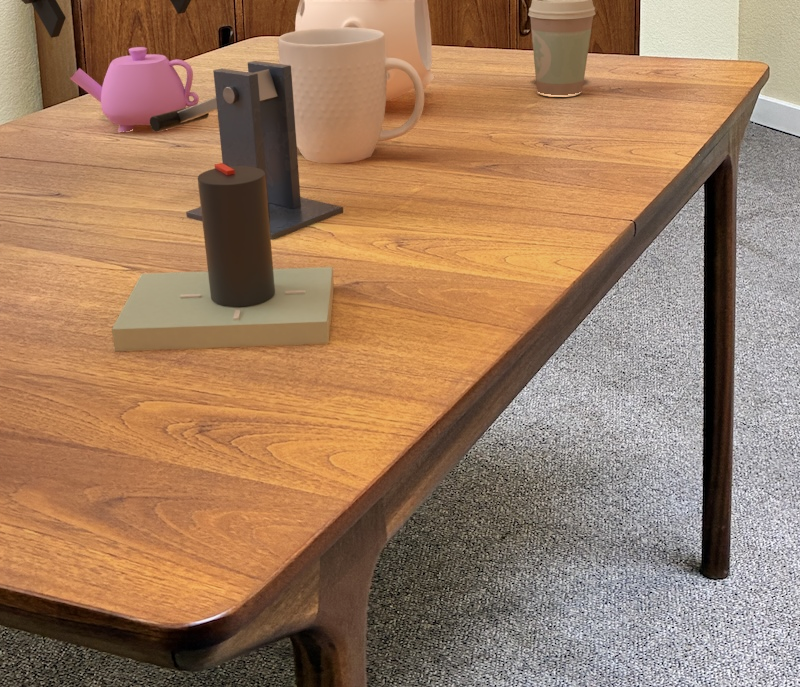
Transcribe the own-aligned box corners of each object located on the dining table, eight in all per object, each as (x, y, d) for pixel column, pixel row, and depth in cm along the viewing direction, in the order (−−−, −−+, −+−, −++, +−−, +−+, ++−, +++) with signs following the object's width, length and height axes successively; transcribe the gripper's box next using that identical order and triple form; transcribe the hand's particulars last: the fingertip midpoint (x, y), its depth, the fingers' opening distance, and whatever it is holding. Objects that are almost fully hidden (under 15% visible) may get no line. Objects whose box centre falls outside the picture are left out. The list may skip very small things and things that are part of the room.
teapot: (196, 133, 131) (187, 53, 127) (68, 138, 131) (56, 58, 127) (206, 113, 140) (198, 38, 137) (87, 118, 140) (76, 43, 136)
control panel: (117, 370, 73) (110, 326, 72) (146, 311, 82) (141, 271, 81) (329, 362, 73) (326, 318, 72) (335, 304, 82) (332, 264, 81)
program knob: (285, 297, 76) (275, 172, 72) (226, 312, 73) (212, 184, 70) (258, 278, 79) (248, 157, 75) (201, 291, 77) (187, 168, 73)
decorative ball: (320, 90, 151) (310, -62, 143) (444, 90, 149) (442, -65, 140) (283, 125, 133) (270, -46, 125) (424, 126, 131) (420, -49, 123)
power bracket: (187, 224, 100) (169, 70, 94) (258, 199, 107) (245, 53, 101) (273, 247, 94) (259, 84, 88) (343, 219, 100) (335, 65, 94)
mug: (423, 144, 123) (420, 23, 118) (427, 171, 113) (425, 41, 108) (289, 148, 123) (281, 28, 118) (282, 176, 113) (272, 46, 108)
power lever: (154, 138, 101) (145, 113, 101) (203, 125, 106) (195, 100, 105) (243, 105, 92) (234, 77, 92) (293, 92, 97) (284, 65, 96)
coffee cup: (532, 85, 150) (534, -7, 145) (596, 87, 147) (600, -7, 142) (521, 99, 142) (522, 3, 137) (588, 101, 140) (592, 3, 135)
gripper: (-107, -191, 95) (7, 11, 92) (143, -203, 110) (247, -29, 107) (-117, -128, 101) (-10, 64, 98) (122, -147, 116) (220, 19, 113)
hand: (125, 16), depth 103 cm, fingers open, 13 cm apart
